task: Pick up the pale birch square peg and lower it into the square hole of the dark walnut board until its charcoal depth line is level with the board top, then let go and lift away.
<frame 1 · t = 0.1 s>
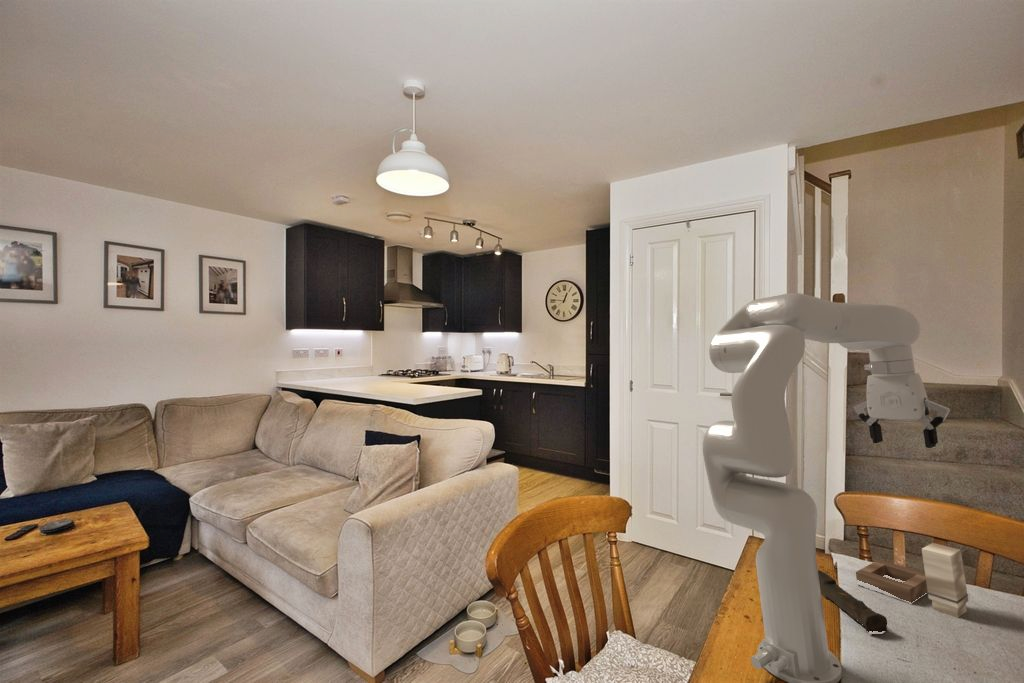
hand: (903, 444, 101), 31 cm above the table, tool pointing down, fingers open, 9 cm apart
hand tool: (842, 610, 95), on the table
peg: (949, 610, 90), on the table
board: (895, 587, 100), on the table
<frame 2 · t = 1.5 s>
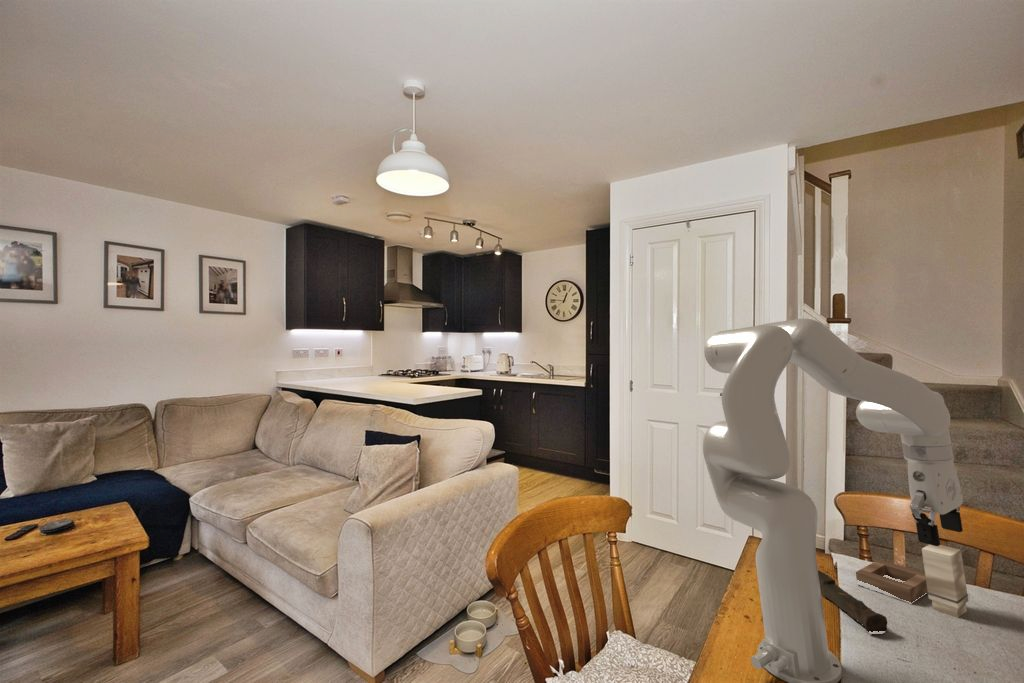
hand: (941, 536, 91), 14 cm above the table, tool pointing down, fingers open, 9 cm apart
nothing on the table moved.
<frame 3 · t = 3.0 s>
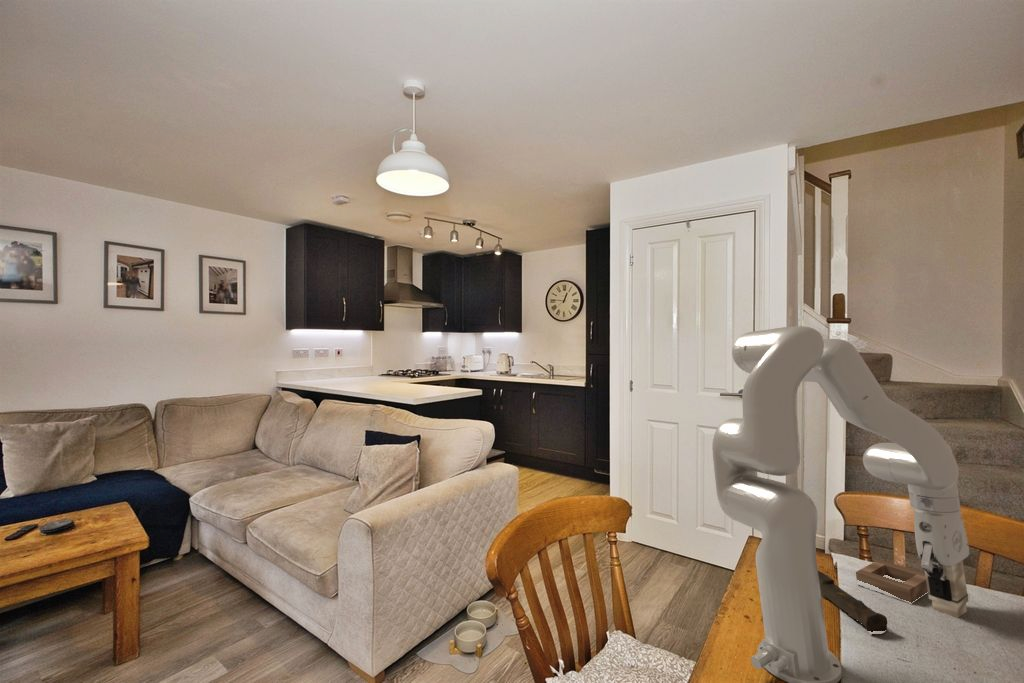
hand: (947, 592, 91), 3 cm above the table, tool pointing down, fingers closed on peg, 4 cm apart
peg: (950, 610, 90), on the table, touching gripper
everything else where it was.
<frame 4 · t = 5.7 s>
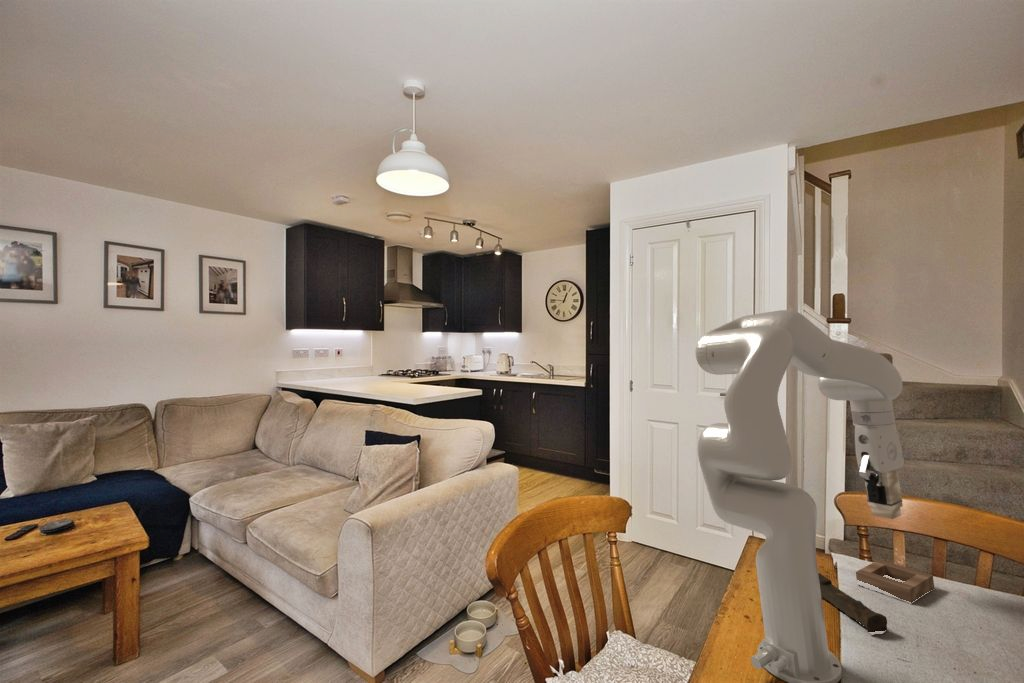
hand: (884, 499, 101), 19 cm above the table, tool pointing down, fingers closed on peg, 4 cm apart
peg: (886, 515, 101), point 16 cm above the table, touching gripper
everything else where it was.
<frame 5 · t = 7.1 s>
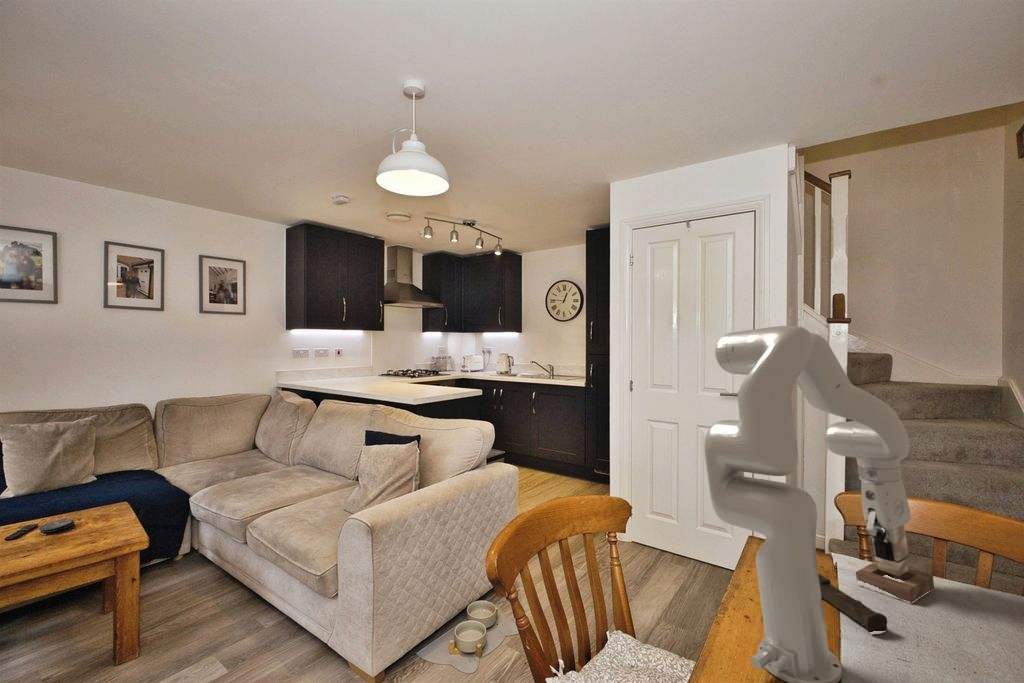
hand: (891, 554, 101), 7 cm above the table, tool pointing down, fingers closed on peg, 4 cm apart
peg: (893, 570, 101), point 4 cm above the table, touching gripper
everything else where it was.
when the fingers open (4 cm above the table, at t = 8.4 s): peg stays where it is, resting in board.
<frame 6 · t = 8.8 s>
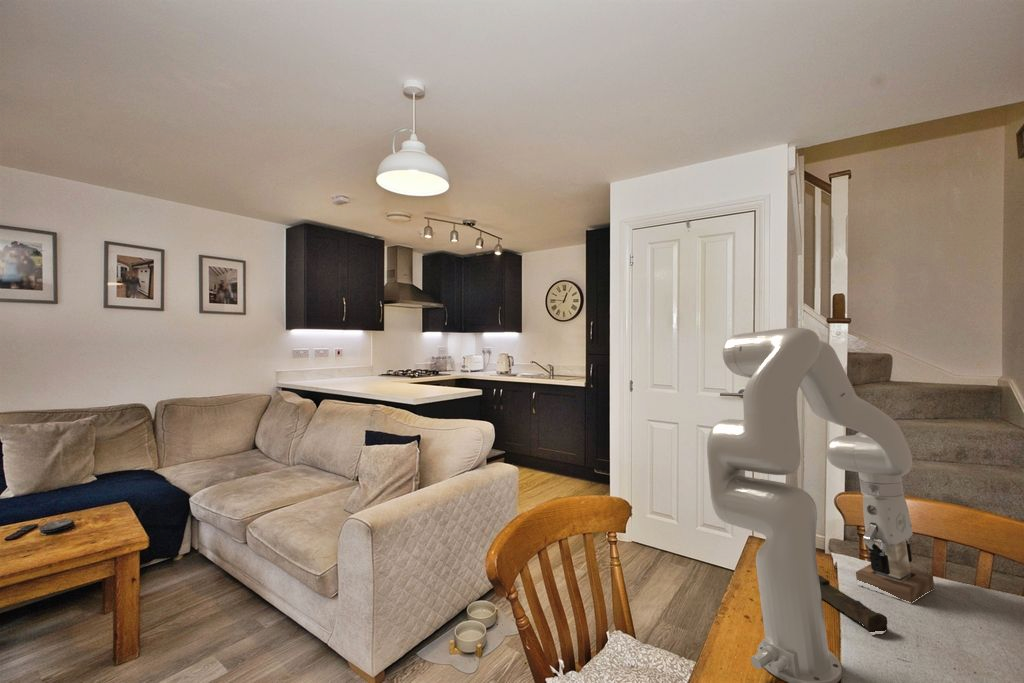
hand: (892, 565, 101), 5 cm above the table, tool pointing down, fingers open, 9 cm apart
peg: (895, 587, 100), resting in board
everything else where it was.
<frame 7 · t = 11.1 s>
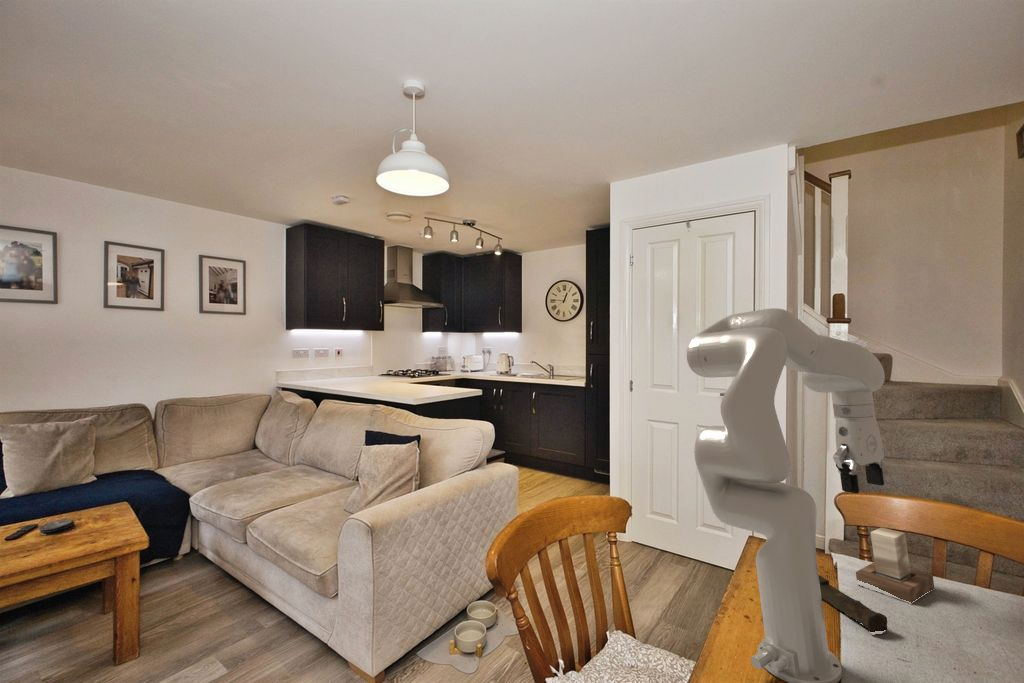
hand: (863, 488, 102), 22 cm above the table, tool pointing down, fingers open, 9 cm apart
nothing on the table moved.
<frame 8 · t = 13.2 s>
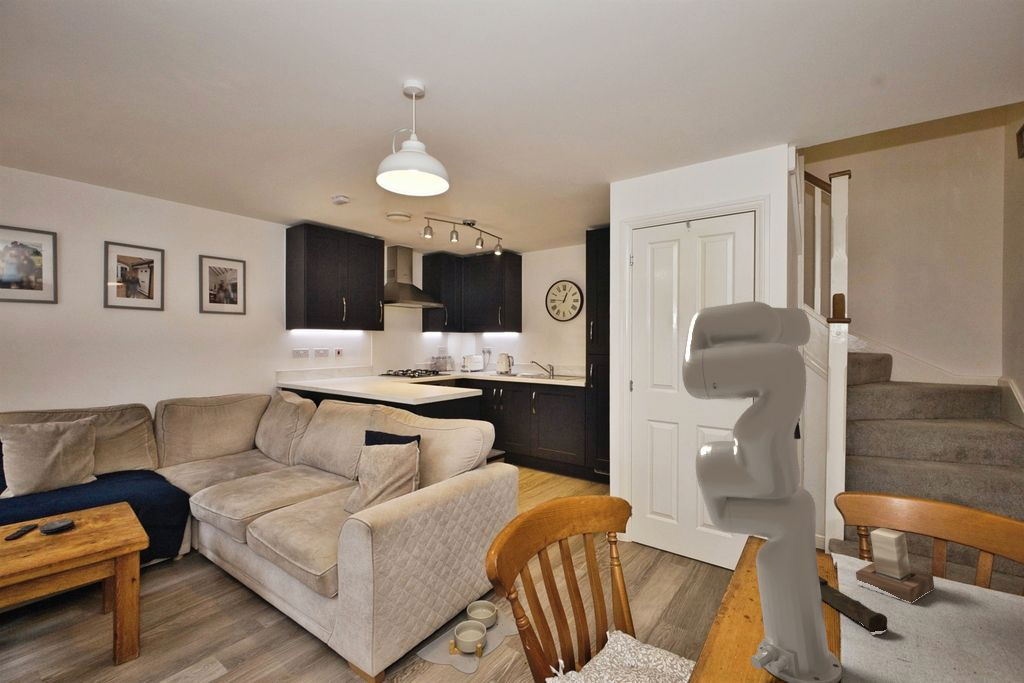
hand: (780, 441, 106), 33 cm above the table, tool pointing down, fingers open, 9 cm apart
at the end: peg 0.1 cm off-centre on the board, point 0.0 cm above the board's base; peg tilted 0°; the gripper is holding nothing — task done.
